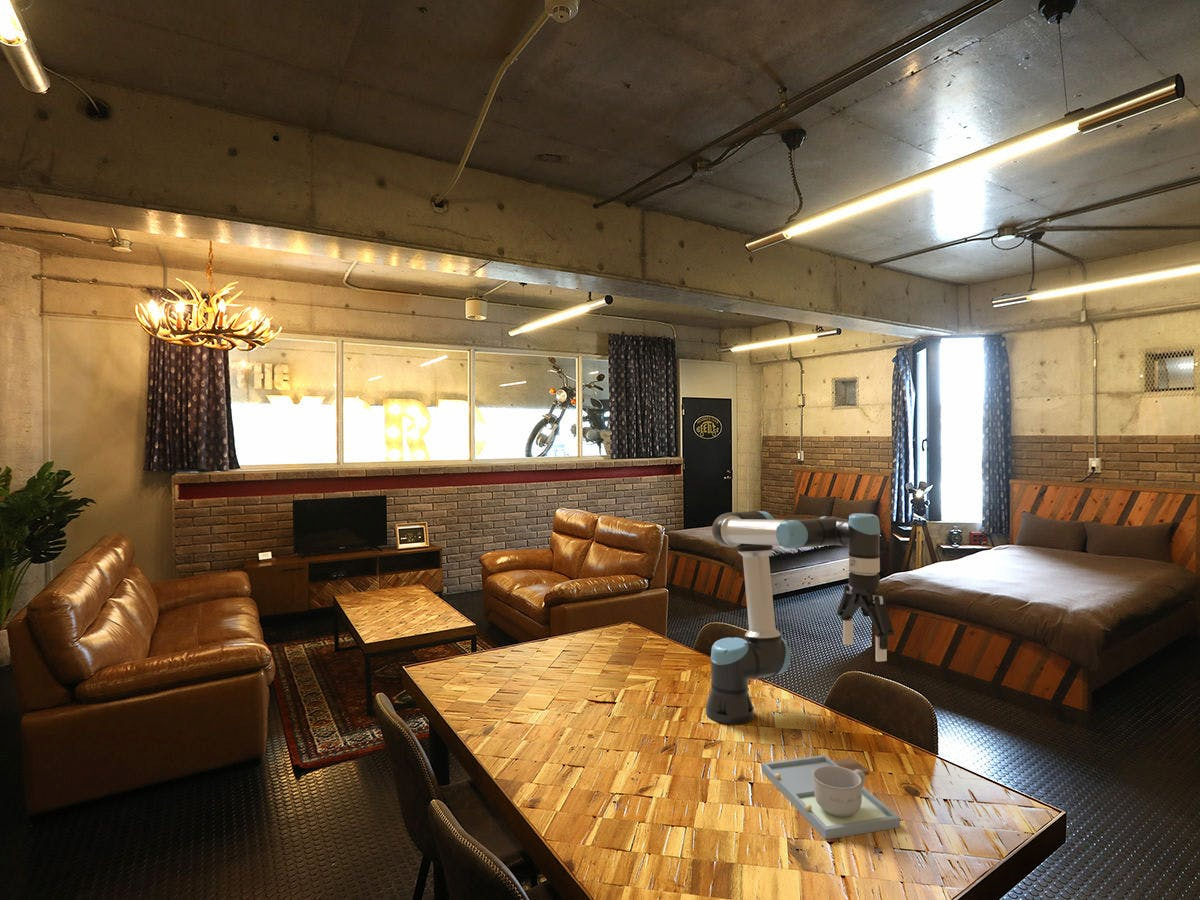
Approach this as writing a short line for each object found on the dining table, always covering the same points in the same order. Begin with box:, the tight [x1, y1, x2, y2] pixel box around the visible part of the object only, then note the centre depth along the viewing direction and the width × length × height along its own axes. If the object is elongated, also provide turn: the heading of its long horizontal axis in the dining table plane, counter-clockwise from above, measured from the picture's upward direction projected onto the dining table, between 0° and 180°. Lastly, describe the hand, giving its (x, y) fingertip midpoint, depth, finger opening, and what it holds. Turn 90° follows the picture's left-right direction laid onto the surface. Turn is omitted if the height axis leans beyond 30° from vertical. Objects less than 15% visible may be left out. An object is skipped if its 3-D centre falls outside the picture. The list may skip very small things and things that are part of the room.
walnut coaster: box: [832, 757, 870, 775], centre depth 165 cm, size 7×7×1 cm
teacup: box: [813, 766, 866, 817], centre depth 145 cm, size 14×11×8 cm
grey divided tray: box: [761, 754, 901, 840], centre depth 151 cm, size 29×19×3 cm, turn 13°
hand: (863, 652), depth 163 cm, fingers open, 13 cm apart
